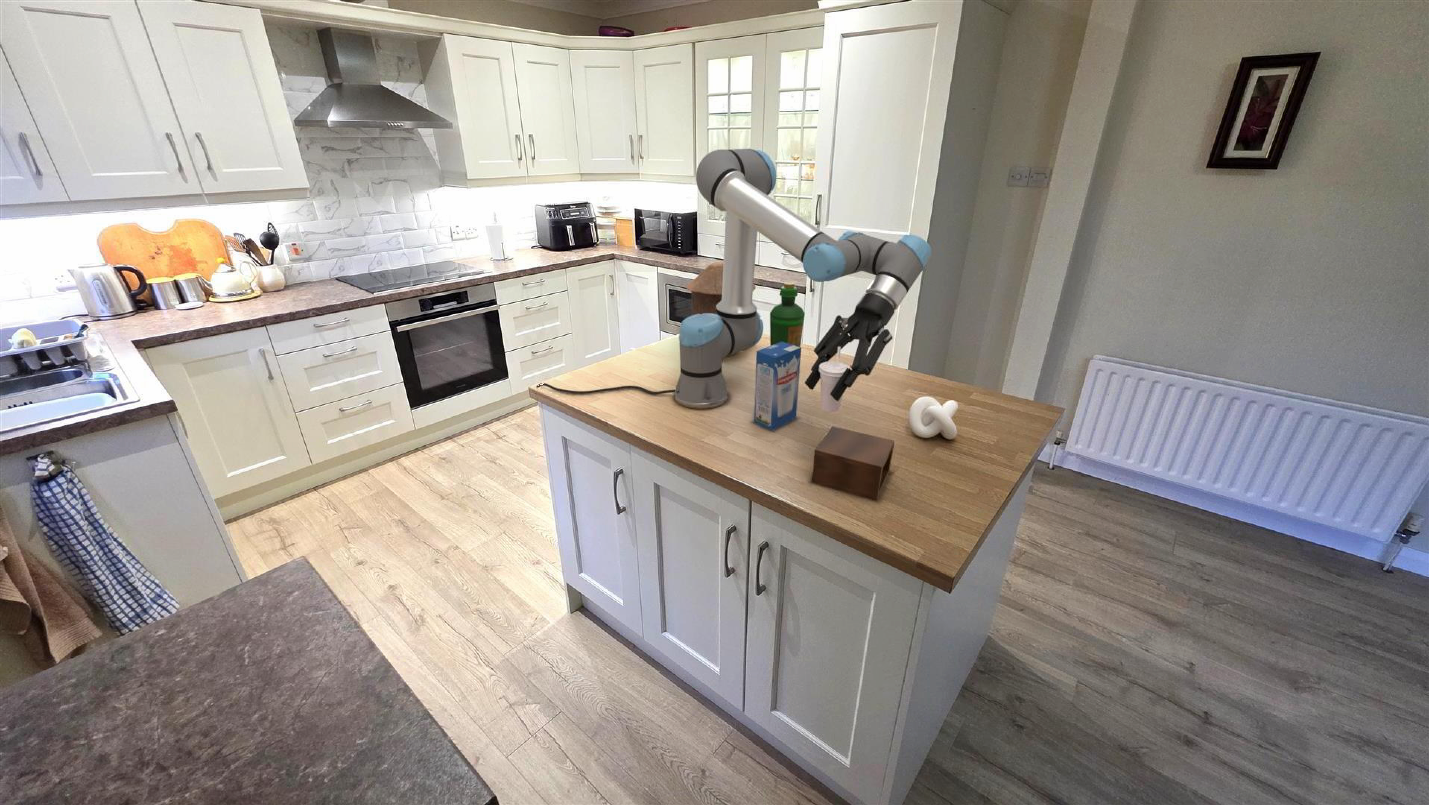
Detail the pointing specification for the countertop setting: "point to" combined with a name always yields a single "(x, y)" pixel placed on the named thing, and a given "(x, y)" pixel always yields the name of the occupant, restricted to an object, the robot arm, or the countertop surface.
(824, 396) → the smoothie
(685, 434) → the countertop surface
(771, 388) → the milk carton
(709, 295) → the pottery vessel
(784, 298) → the bottle
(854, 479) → the open-ended wooden box
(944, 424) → the white knot sculpture
